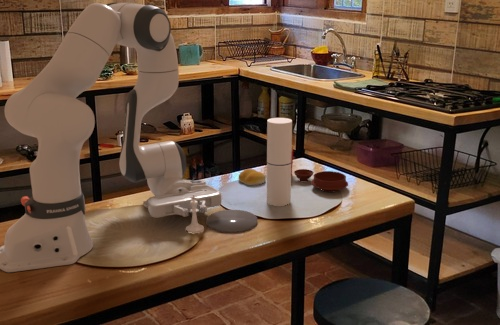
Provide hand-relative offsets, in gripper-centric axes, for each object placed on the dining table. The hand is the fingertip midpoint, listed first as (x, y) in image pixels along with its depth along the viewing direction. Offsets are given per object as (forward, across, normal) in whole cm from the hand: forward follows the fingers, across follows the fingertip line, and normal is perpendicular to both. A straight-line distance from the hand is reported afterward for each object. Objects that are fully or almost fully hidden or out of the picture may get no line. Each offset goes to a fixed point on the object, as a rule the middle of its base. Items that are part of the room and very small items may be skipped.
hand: (195, 211), depth 148 cm
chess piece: (-1, 0, +6) cm, 6 cm away
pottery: (-14, +49, +6) cm, 51 cm away
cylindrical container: (-8, +30, +6) cm, 32 cm away
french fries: (-30, +45, +6) cm, 54 cm away
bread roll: (-28, +32, +6) cm, 43 cm away
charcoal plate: (-1, +11, +6) cm, 12 cm away
